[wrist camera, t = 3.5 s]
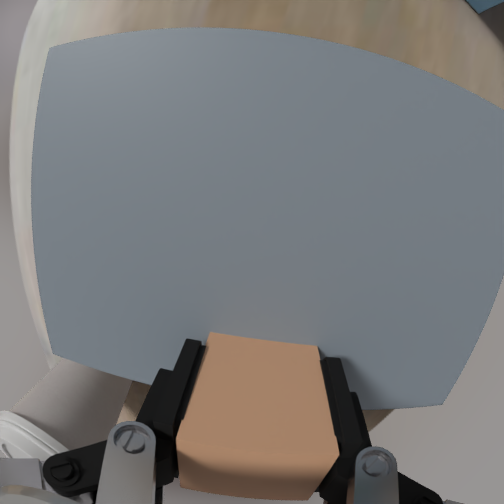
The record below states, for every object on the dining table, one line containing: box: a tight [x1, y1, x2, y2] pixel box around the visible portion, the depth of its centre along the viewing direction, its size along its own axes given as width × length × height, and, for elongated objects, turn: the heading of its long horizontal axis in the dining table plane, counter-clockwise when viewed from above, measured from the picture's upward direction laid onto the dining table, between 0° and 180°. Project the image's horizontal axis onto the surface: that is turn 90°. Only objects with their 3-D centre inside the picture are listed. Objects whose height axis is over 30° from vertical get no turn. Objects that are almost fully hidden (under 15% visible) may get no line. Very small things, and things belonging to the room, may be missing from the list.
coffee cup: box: [0, 358, 133, 461], centre depth 19 cm, size 10×10×15 cm
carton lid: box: [31, 28, 504, 500], centre depth 8 cm, size 14×20×6 cm
